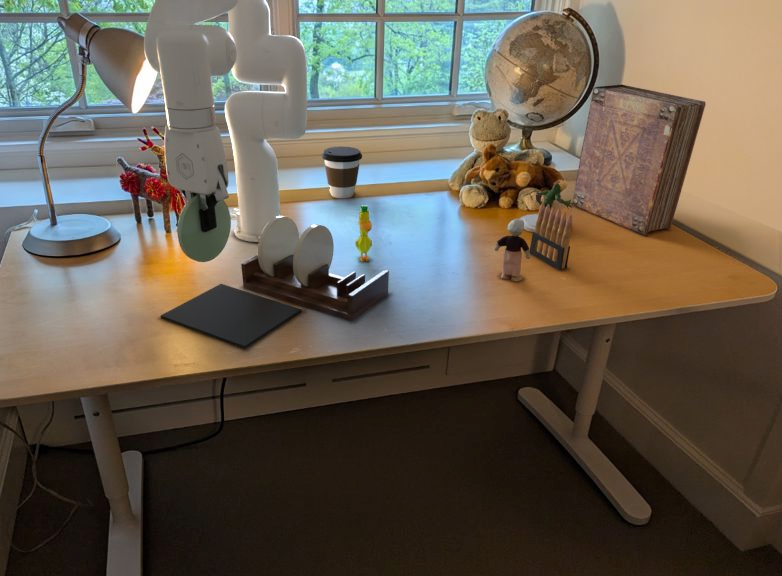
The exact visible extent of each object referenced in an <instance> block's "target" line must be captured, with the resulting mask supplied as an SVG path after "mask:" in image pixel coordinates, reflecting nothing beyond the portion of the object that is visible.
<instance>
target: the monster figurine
mask: <svg viewBox="0 0 782 576" xmlns="http://www.w3.org/2000/svg"><path fill="white" fill-rule="evenodd" d="M561 192H562V186H561V184H559V183H558V182H557V183H555V185H554V186H552V188H551V189H547V190H542V191H537V192H535V201H536V202H537V203H538V204H539V206H541V204H542V202H544V205H545V209H546V207H547V205H548V204H549V205H550V210H552V208H553V204H554V202H555V201H557V202H558V203H559V204H561V205H564V206H566V208H567V210H570V208H571V209H573V206H572V204H573V203H572V202H571V201H572V199H570V200H564V199H562V198H561V197H562V195H561ZM542 196H545V197H544V199H543V200H544V201H542ZM569 207H570V208H569ZM544 213H545V211H544ZM538 214H539V213H533V214H526V215H523V216H521V217H520V218H519V219H521V220H523V221H524V229H523V230H525V231H527V232H530V233H533V232H535V226H536V220H537V218H538ZM549 217H550V216H549ZM555 217H556V215H555ZM560 221H561V220H560Z"/></svg>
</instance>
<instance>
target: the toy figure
mask: <svg viewBox="0 0 782 576" xmlns="http://www.w3.org/2000/svg"><path fill="white" fill-rule="evenodd" d="M368 208H369V205H368V204H361V205H360V209H359V214H358V225H359V226H358V227H359V232H360V236H359V237H358V239H357V240H355V241H354V245H355V248H356V249H357V250H358V251H359V253H360V257H359V260H360V262H362V263H363V262H365V261H366V262H370V256H368V252H369V251H370V249H371V247H372V246H373V241H372V239H371V238H370V237H369V235H368V233H370V231H371V230H372V227H373V223H372V221H371V220H370V209H368ZM363 254H364V255H363Z"/></svg>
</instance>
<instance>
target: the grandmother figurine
mask: <svg viewBox="0 0 782 576" xmlns="http://www.w3.org/2000/svg"><path fill="white" fill-rule="evenodd" d="M506 230H507V231H508V232H509V233H510V235H505V236H502V237H500V238H499V239H498V240H497V241H496V244H495V246H493V251H495V252H498V251H499V250H500V248H502V247H505V249H504V253H503V258H502V266H501V267H502V268H501V275H500V278H501V279H502V280H509V279H510V278H511V279H510V280H511V281H512V282H514V283H515V282H516V283H517V282H520V281H522V280H523V279H524V278H523V276H522V275H521V271H522V270H521V269H522V259H523V258H522V255H523V254H524V255H525V259H526V260H530V259H531V257H532V254H530V251H529V250H530V246H529V245H528V242H527V240H525V239H524V238H523V237H521V235H522V234H523V232H524V230H525V229H524V221H523V220H521V219H520V218H514V219H512V220H511V221H510V222H509V223H508V224H507V227H506ZM522 251H523V252H524V253H522Z"/></svg>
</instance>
